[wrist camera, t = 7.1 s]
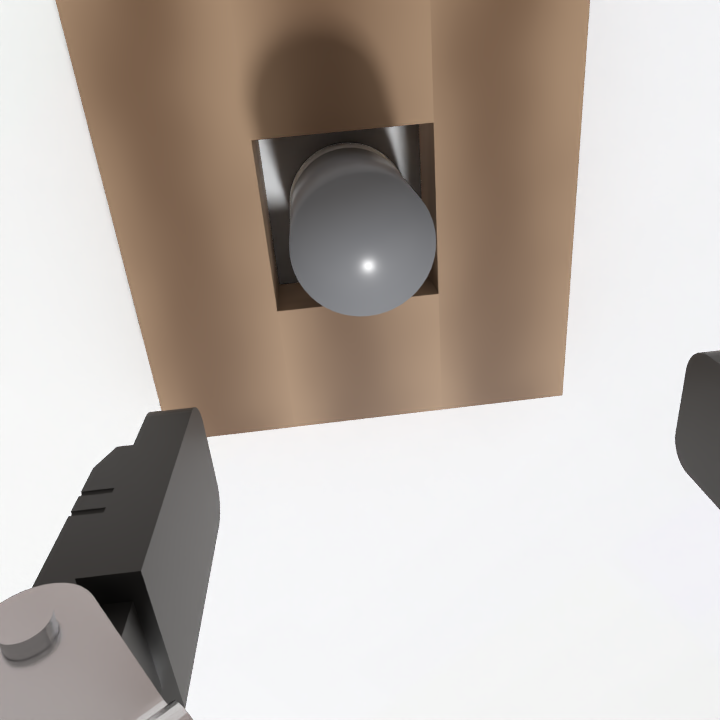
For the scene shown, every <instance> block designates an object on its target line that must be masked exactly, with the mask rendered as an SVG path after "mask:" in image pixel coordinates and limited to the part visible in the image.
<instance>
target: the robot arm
mask: <svg viewBox="0 0 720 720" xmlns="http://www.w3.org/2000/svg"><path fill="white" fill-rule="evenodd" d="M675 444H676V451H677V454H678V458H679V460H680V463H681V465H682V467H683V468H684V470H685V471H686V472H687V474H688V475H689V476H690V477H691V478H692V479H693V480H694V481H695V483H696V484H697V485H698V486H699V487H700V488H701V489H702V490H703V491H704V493H705V494H706V495H707V496H708V497H709V498H710V499H711V500H712V501H713V502H714V504H715V505H716V506H717V507H718V508H719V509H720V351H711V352H702V353H697V354H695V355H693V356H692V357H691V358H690V360H689V362H688V365H687V368H686V374H685V380H684V386H683V392H682V398H681V404H680V410H679V416H678V422H677V428H676V434H675ZM81 493H82V496H79V497H78V499H77V501H76V503H75V505H74V507H73V509H72V511H71V513H72V515H71V516H69V517H68V519H67V520H66V522H65V524H64V526H63V528H62V530H61V532H60V534H59V536H58V538H57V540H56V542H55V544H54V546H53V548H52V550H51V552H50V554H49V556H48V558H47V560H46V561H45V563H44V565H43V567H42V569H41V571H40V573H39V575H38V577H37V579H36V581H35V583H34V585H33V587H32V588H30V589H28V590H25V591H22V592H20V593H18V594H16V595H14V596H12V597H10V598H8V599H6V600H5V601H3V602H1V603H0V720H193V719H192V718H191V716H190V715H189V714H188V712H187V711H186V710H185V706H186V701H187V696H188V690H189V685H190V679H191V674H192V669H193V663H194V658H195V652H196V647H197V642H198V636H199V631H200V625H201V620H202V614H203V609H204V604H205V598H206V593H207V587H208V582H209V577H210V571H211V566H212V560H213V555H214V550H215V544H216V539H217V533H218V528H219V521H220V501H219V491H218V486H217V481H216V477H215V472H214V468H213V463H212V459H211V455H210V450H209V446H208V441H207V437H206V433H205V428H204V424H203V420H202V416H201V414H200V411H199V410H198V408H196V407H192V408H183V409H174V410H165V411H156V412H149V413H148V414H147V416H146V417H145V420H144V422H143V424H142V427H141V429H140V431H139V433H138V436H137V438H136V440H135V442H134V445H129V446H120V447H116V448H115V449H114V450H113V451H112V452H111V453H110V454H108V455H107V456H106V457H105V458H104V459H103V460H102V461H101V462H100V463H98V464H97V465H96V466H95V467H94V468H93V470H92V472H91V474H90V476H89V477H88V479H87V481H86V483H85V485H84V487H83V489H82V491H81Z"/></svg>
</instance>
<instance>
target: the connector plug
mask: <svg viewBox="0 0 720 720" xmlns="http://www.w3.org/2000/svg"><path fill="white" fill-rule="evenodd" d="M289 211H290V237H289V252H290V259H291V264H292V267H293V270H294V273H295V275H296V277H297V279H298V281H299V283H300V284H301V286H302V287H303V289H304V290H305V291H306V292H307V293H308V294H309V295H310V296H311V297H312V298H313V299H314V300H315V301H316V302H318V303H319V304H321V305H322V306H324V307H326V308H328V309H330V310H332V311H334V312H337V313H340V314H344V315H349V316H372V315H377V314H381V313H384V312H387V311H390V310H392V309H394V308H396V307H398V306H400V305H401V304H403V303H404V302H406V301H407V300H408V299H409V298H411V297H412V296H413V295H414V294H415V293H416V292H417V291H418V289H419V288H420V287H421V286H422V284H423V283H424V281H425V280H426V278H427V276H428V274H429V272H430V270H431V268H432V264H433V261H434V257H435V251H436V234H435V228H434V224H433V220H432V218H431V215H430V212H429V211H428V209H427V207H426V205H425V204H424V202H423V201H422V200H421V198H420V197H419V196H418V195H417V193H416V192H415V191H414V190H413V189H412V188H411V186H410V185H409V184H408V183H407V182H406V180H405V179H404V178H403V177H402V175H401V173H400V172H399V170H398V169H397V168H396V166H395V165H394V164H393V163H392V162H391V161H390V160H389V159H388V158H387V157H386V156H385V155H384V154H382V153H381V152H379V151H378V150H376V149H374V148H372V147H369V146H367V145H363V144H359V143H351V142H349V143H338V144H333V145H330V146H327V147H325V148H323V149H321V150H319V151H317V152H316V153H314V154H313V155H312V156H311V157H310V158H308V159H307V160H306V161H305V163H304V164H303V165H302V166H301V168H300V169H299V171H298V172H297V174H296V176H295V178H294V181H293V184H292V187H291V192H290V203H289Z"/></svg>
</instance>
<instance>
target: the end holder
mask: <svg viewBox="0 0 720 720" xmlns="http://www.w3.org/2000/svg"><path fill="white" fill-rule="evenodd" d="M56 4H57V8H58V12H59V16H60V20H61V24H62V27H63V31H64V35H65V39H66V43H67V47H68V51H69V55H70V58H71V62H72V66H73V70H74V74H75V78H76V82H77V85H78V89H79V93H80V97H81V101H82V105H83V109H84V112H85V116H86V120H87V124H88V128H89V132H90V136H91V139H92V143H93V147H94V151H95V155H96V159H97V163H98V167H99V170H100V174H101V178H102V182H103V186H104V190H105V194H106V197H107V201H108V205H109V209H110V213H111V217H112V221H113V224H114V228H115V232H116V236H117V240H118V244H119V248H120V252H121V255H122V259H123V263H124V267H125V271H126V275H127V279H128V282H129V286H130V290H131V294H132V298H133V302H134V306H135V309H136V313H137V317H138V321H139V325H140V329H141V333H142V336H143V340H144V344H145V348H146V352H147V356H148V360H149V364H150V367H151V371H152V375H153V379H154V383H155V387H156V391H157V394H158V398H159V402H160V406H161V410H162V411H165V410H174V409H183V408H192V407H196V408H198V410H199V411H200V414H201V416H202V420H203V424H204V428H205V433H206V437H211V436H220V435H228V434H237V433H245V432H254V431H262V430H271V429H279V428H288V427H296V426H305V425H313V424H322V423H330V422H339V421H347V420H356V419H364V418H373V417H381V416H390V415H399V414H407V413H416V412H424V411H433V410H441V409H450V408H458V407H467V406H475V405H484V404H492V403H501V402H509V401H518V400H526V399H535V398H543V397H552V396H560V395H562V393H563V378H564V364H565V350H566V335H567V321H568V307H569V292H570V278H571V264H572V249H573V235H574V221H575V206H576V192H577V178H578V163H579V149H580V135H581V120H582V106H583V92H584V77H585V63H586V49H587V35H588V20H589V6H590V0H56ZM413 124H419V150H420V176H421V200H422V201H423V202H424V204H425V205H426V207H427V209H428V211H429V212H430V215H431V218H432V220H433V224H434V228H435V234H436V251H435V257H434V261H433V264H432V268H431V270H430V272H429V274H428V276H427V278H426V280H425V281H424V283H423V284H422V286H421V287H420V288H419V289H418V291H417V292H416V293H415V294H414V295H413V296H412V297H411V298H409V299H408V300H407V301H406V302H404V303H403V304H401V305H400V306H398V307H396V308H394V309H392V310H390V311H387V312H384V313H381V314H377V315H372V316H349V315H344V314H340V313H337V312H334V311H332V310H330V309H328V308H326V307H324V306H322V305H321V304H319V303H318V302H316V301H315V300H314V299H313V298H312V297H311V296H310V295H309V294H308V293H307V292H306V291H305V290H304V289H303V287H302V286H301V284H300V283H290V284H280V285H279V279H278V272H277V265H276V258H275V251H274V245H273V238H272V231H271V224H270V217H269V211H268V204H267V197H266V190H265V183H264V177H263V170H262V163H261V156H260V149H259V143H258V140H260V139H270V138H280V137H291V136H301V135H311V134H321V133H331V132H342V131H352V130H362V129H372V128H383V127H393V126H403V125H413Z"/></svg>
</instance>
